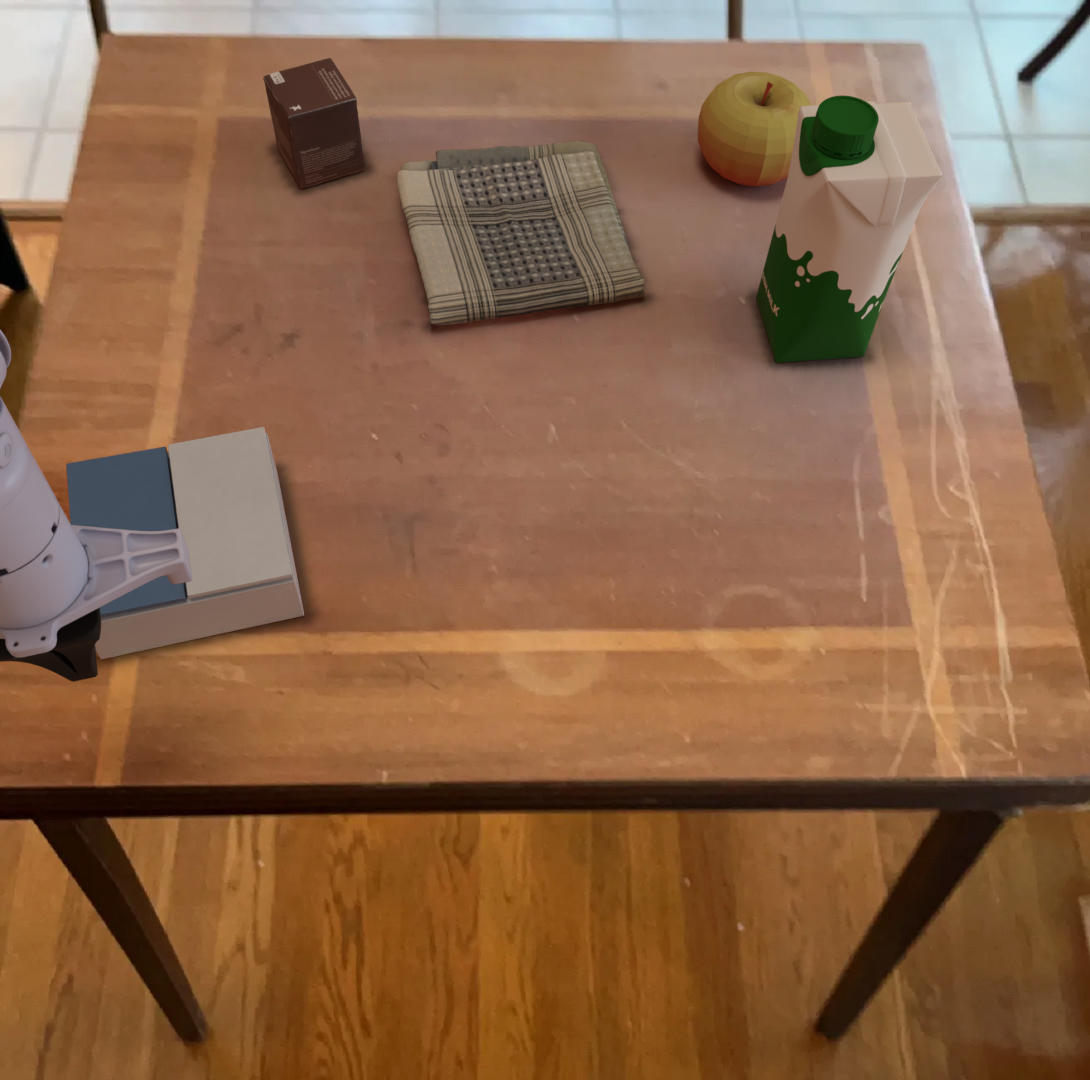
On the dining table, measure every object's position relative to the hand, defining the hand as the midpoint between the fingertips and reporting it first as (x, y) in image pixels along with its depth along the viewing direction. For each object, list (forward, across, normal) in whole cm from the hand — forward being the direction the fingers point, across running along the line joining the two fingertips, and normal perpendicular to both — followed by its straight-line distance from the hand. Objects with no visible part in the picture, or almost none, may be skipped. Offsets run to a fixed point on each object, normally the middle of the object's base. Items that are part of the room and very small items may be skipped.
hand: (83, 663), depth 63 cm
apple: (+11, +56, +41) cm, 70 cm away
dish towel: (+11, +34, +37) cm, 51 cm away
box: (+11, +20, +50) cm, 55 cm away
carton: (+10, +5, +12) cm, 17 cm away
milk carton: (+11, +54, +22) cm, 59 cm away
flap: (+6, +2, +12) cm, 13 cm away
